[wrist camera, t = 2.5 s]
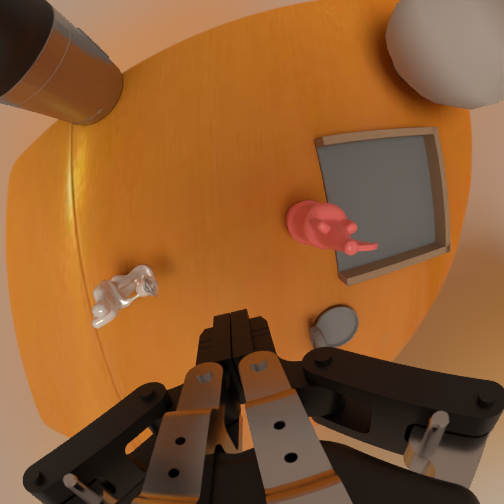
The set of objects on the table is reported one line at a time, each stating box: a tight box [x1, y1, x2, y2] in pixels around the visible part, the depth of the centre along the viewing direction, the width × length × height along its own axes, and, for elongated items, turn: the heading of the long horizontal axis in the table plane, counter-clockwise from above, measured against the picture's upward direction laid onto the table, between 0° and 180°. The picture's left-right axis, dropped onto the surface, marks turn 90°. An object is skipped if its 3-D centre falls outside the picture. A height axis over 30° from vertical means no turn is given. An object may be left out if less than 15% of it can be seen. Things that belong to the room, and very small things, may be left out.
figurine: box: [92, 264, 158, 328], centre depth 28 cm, size 5×9×12 cm, turn 125°
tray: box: [314, 127, 450, 286], centre depth 32 cm, size 18×18×3 cm
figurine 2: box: [286, 200, 378, 255], centre depth 26 cm, size 5×5×15 cm
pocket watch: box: [310, 306, 359, 349], centre depth 33 cm, size 8×8×10 cm
